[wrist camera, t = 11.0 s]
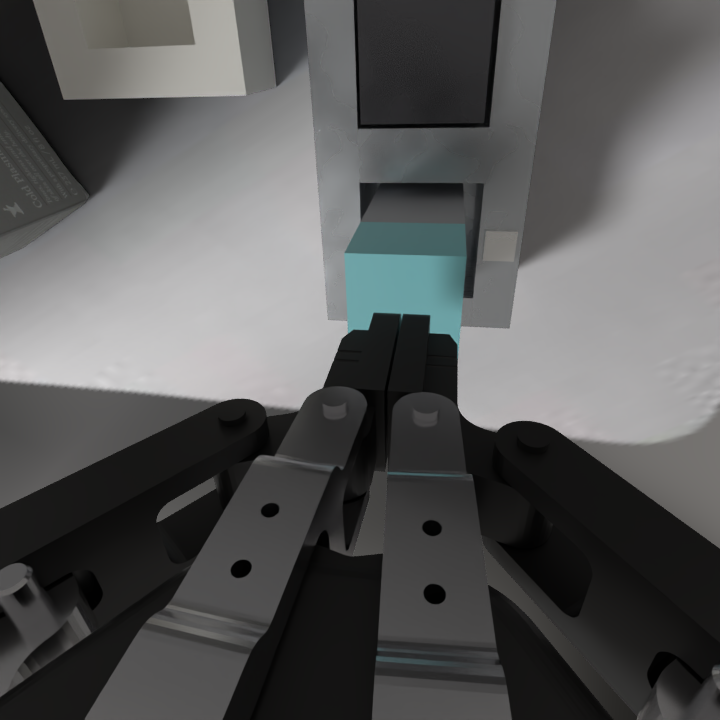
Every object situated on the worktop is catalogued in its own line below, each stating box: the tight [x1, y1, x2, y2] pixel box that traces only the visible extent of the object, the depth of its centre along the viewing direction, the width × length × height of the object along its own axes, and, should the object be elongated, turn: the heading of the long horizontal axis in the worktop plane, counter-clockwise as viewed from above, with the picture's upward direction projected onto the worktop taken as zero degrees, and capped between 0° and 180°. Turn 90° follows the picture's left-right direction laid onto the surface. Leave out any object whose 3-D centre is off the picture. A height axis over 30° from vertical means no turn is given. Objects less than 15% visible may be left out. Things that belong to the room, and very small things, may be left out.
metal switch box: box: [304, 0, 557, 328], centre depth 20 cm, size 8×14×6 cm, turn 2°
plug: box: [344, 183, 467, 359], centre depth 20 cm, size 4×4×11 cm
